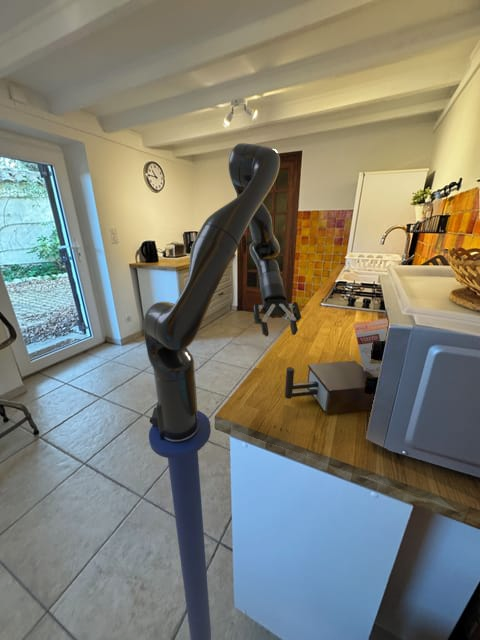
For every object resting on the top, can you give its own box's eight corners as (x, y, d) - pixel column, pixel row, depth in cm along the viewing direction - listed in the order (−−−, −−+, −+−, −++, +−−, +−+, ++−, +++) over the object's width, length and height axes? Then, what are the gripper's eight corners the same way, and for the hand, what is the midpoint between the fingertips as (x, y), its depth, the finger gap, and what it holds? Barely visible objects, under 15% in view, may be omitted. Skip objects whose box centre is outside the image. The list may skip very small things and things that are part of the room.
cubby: (326, 414, 67) (329, 390, 65) (305, 385, 80) (308, 364, 77) (379, 409, 69) (384, 385, 67) (351, 381, 82) (355, 360, 80)
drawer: (291, 414, 67) (294, 380, 63) (278, 389, 77) (280, 359, 74) (371, 406, 70) (378, 373, 67) (349, 383, 81) (354, 353, 77)
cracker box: (368, 391, 76) (355, 333, 69) (365, 378, 81) (352, 322, 74) (422, 387, 71) (415, 323, 63) (416, 373, 76) (408, 312, 68)
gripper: (252, 283, 78) (259, 331, 71) (296, 281, 80) (307, 328, 73) (249, 295, 85) (255, 340, 78) (289, 294, 87) (299, 338, 80)
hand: (280, 334), depth 76 cm, fingers open, 8 cm apart
